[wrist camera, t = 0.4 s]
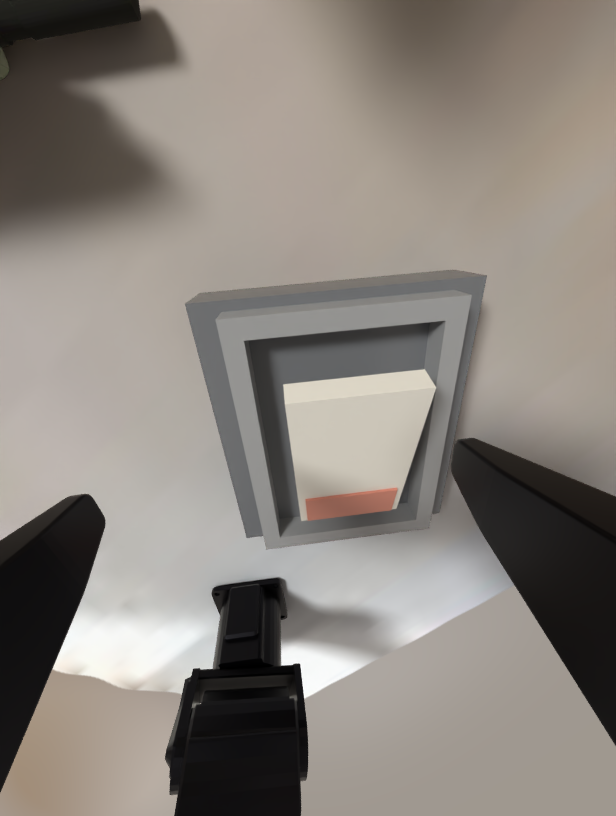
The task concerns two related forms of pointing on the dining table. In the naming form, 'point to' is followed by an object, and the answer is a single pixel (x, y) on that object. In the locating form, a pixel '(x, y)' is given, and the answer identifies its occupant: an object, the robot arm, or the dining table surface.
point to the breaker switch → (355, 440)
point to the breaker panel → (331, 359)
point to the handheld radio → (58, 19)
